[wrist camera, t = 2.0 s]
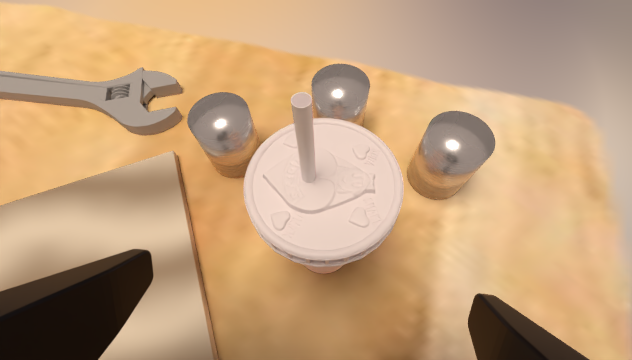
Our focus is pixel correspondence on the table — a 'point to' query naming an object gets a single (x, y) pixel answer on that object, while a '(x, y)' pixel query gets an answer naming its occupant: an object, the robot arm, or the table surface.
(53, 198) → the pad
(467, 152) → the posts
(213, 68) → the table surface
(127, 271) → the robot arm
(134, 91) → the adjustable wrench
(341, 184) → the smoothie
